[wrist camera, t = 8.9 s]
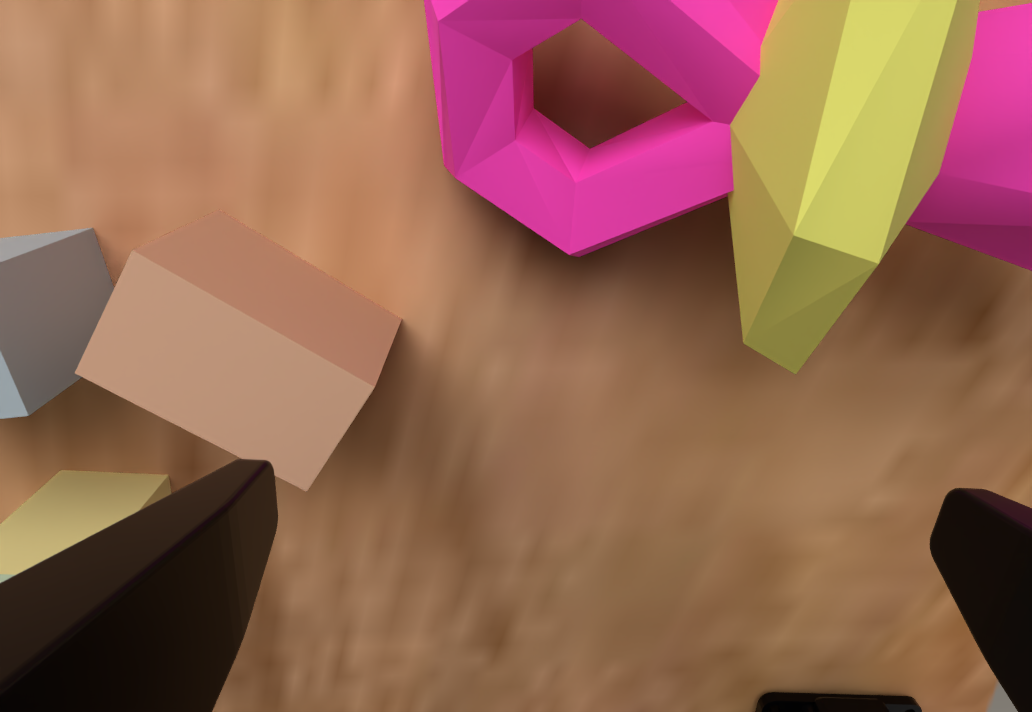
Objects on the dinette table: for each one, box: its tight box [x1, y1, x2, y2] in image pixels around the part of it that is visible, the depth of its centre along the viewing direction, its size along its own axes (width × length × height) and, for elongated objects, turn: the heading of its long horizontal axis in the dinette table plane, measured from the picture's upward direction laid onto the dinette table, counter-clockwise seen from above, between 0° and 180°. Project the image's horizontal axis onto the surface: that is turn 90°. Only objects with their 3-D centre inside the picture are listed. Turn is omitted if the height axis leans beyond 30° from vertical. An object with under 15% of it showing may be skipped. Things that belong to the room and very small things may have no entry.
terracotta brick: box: [75, 209, 402, 492], centre depth 18 cm, size 6×4×5 cm, turn 56°
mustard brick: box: [0, 470, 171, 575], centre depth 21 cm, size 6×4×5 cm, turn 176°
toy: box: [424, 0, 1032, 375], centre depth 14 cm, size 10×18×10 cm, turn 85°
